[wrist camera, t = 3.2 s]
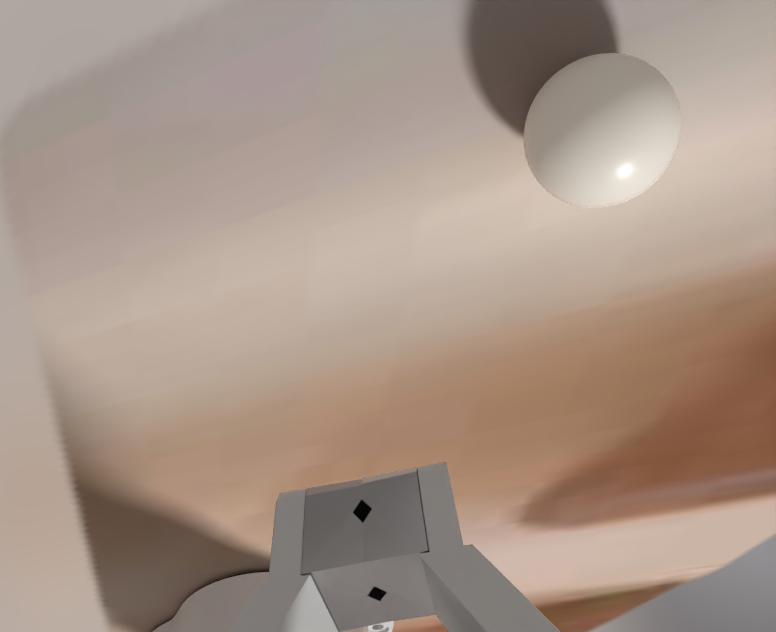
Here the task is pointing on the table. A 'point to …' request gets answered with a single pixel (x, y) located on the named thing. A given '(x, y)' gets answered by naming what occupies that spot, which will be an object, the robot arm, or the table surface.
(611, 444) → the table surface
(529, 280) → the table surface
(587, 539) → the table surface
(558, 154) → the cue ball
